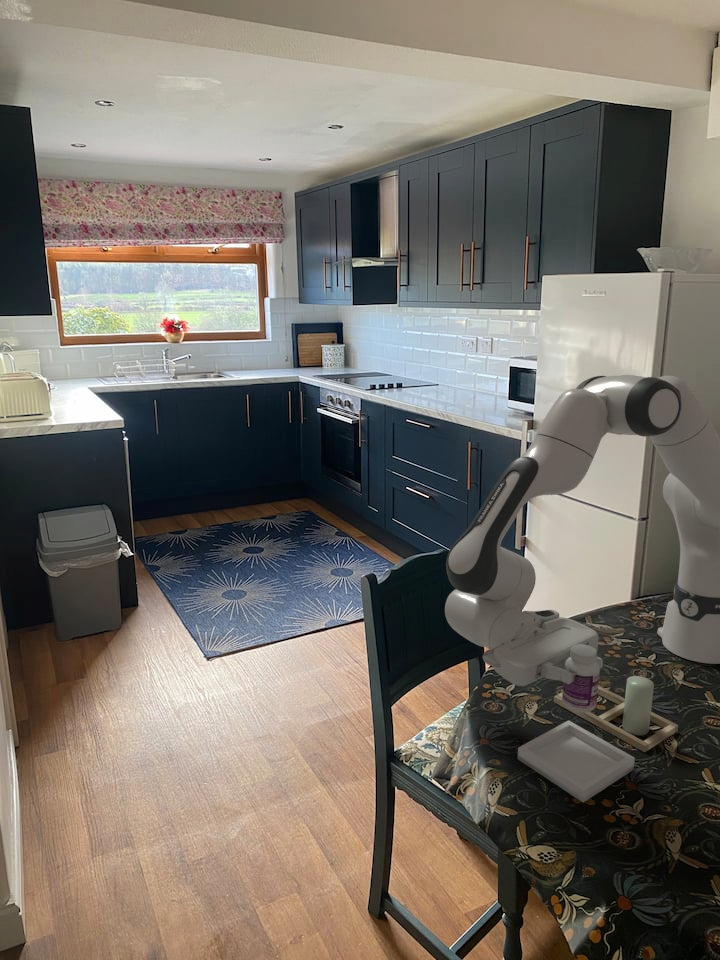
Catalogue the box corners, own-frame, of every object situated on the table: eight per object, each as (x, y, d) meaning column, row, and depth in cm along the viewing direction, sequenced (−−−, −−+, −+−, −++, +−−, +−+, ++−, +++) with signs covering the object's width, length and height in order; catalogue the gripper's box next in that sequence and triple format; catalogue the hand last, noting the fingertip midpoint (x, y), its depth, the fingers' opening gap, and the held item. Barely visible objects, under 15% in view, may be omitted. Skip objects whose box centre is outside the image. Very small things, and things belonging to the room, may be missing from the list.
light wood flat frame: (586, 685, 140) (587, 679, 140) (677, 731, 125) (678, 725, 125) (553, 702, 134) (554, 696, 134) (644, 752, 120) (645, 746, 119)
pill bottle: (598, 715, 111) (603, 660, 109) (563, 711, 112) (567, 656, 110) (594, 696, 116) (599, 643, 114) (560, 693, 117) (565, 640, 115)
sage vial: (631, 717, 129) (636, 673, 127) (653, 729, 126) (659, 683, 124) (617, 726, 127) (621, 681, 125) (639, 738, 123) (644, 692, 121)
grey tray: (567, 731, 125) (568, 720, 125) (633, 769, 115) (634, 757, 115) (517, 759, 118) (518, 747, 117) (583, 802, 108) (584, 790, 107)
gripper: (477, 638, 116) (544, 674, 105) (558, 606, 128) (626, 636, 117) (475, 673, 118) (542, 711, 107) (556, 638, 129) (623, 670, 119)
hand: (586, 672), depth 112 cm, fingers closed on pill bottle, 5 cm apart
